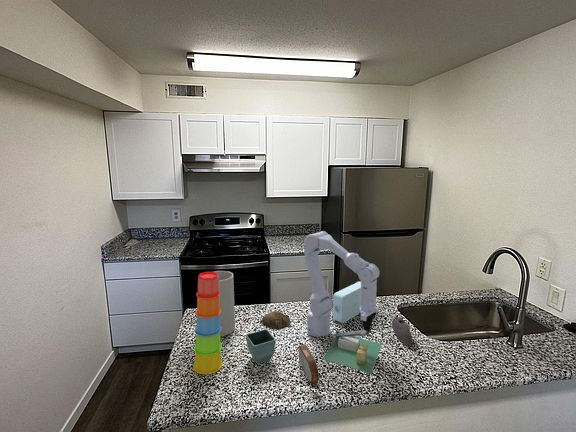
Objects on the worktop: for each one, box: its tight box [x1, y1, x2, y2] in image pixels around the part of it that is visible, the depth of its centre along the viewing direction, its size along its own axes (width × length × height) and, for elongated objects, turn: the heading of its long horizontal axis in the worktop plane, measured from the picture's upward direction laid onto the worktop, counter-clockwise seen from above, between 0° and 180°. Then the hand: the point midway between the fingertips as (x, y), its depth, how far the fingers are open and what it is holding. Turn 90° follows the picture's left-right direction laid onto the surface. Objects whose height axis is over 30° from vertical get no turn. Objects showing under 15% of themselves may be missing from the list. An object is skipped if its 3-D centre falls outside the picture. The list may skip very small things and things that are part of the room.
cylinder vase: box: [214, 270, 236, 337], centre depth 134 cm, size 12×12×25 cm
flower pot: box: [245, 328, 277, 365], centre depth 115 cm, size 9×9×9 cm
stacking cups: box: [192, 271, 224, 375], centre depth 109 cm, size 10×10×35 cm
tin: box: [297, 344, 320, 385], centre depth 106 cm, size 15×3×8 cm, turn 15°
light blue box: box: [332, 280, 361, 324], centre depth 149 cm, size 23×6×13 cm, turn 135°
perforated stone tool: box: [391, 316, 413, 348], centre depth 127 cm, size 15×5×7 cm, turn 179°
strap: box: [333, 328, 371, 338], centre depth 121 cm, size 15×4×1 cm, turn 63°
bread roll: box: [261, 310, 291, 330], centre depth 142 cm, size 13×12×5 cm
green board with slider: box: [322, 329, 383, 374], centre depth 118 cm, size 18×20×4 cm
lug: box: [356, 344, 368, 366], centre depth 113 cm, size 3×6×4 cm, turn 153°
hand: (366, 330), depth 118 cm, fingers closed
